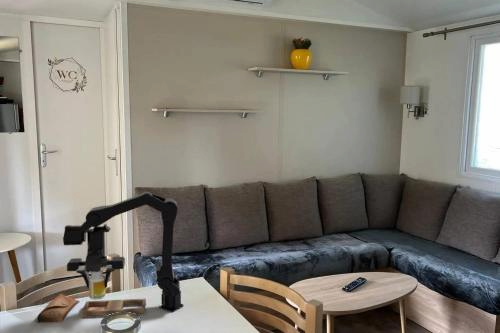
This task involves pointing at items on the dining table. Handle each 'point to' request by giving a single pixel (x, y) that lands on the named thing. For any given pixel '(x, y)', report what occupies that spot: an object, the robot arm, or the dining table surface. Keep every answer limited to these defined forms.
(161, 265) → the robot arm
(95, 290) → the supplement bottle
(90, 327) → the dining table surface
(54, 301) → the sunglasses case
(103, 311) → the walnut dock
